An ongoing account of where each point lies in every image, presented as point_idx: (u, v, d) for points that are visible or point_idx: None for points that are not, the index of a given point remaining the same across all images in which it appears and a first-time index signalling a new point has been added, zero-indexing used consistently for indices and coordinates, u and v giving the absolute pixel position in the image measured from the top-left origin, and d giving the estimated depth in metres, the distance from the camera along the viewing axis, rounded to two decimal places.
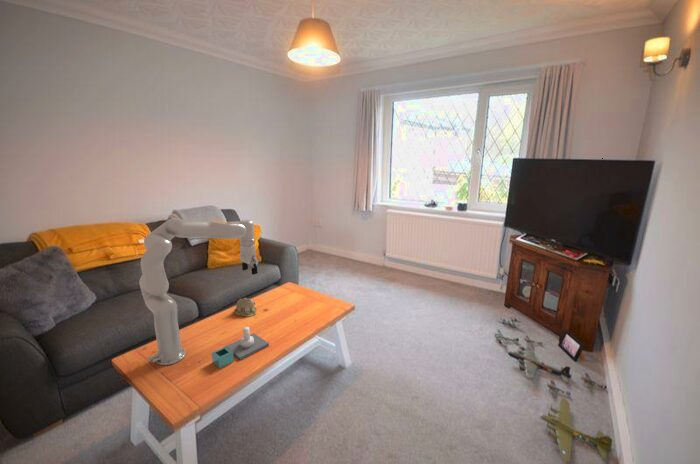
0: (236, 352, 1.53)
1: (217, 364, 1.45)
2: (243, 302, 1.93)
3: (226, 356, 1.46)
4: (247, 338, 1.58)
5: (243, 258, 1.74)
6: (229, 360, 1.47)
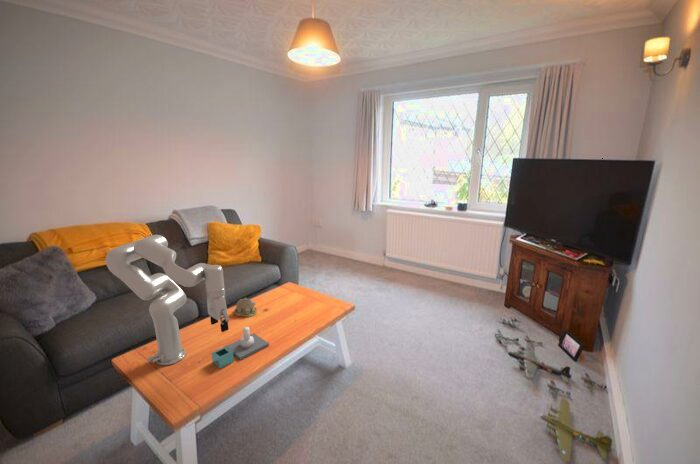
0: (236, 352, 1.53)
1: (217, 364, 1.45)
2: (243, 302, 1.93)
3: (226, 356, 1.46)
4: (247, 338, 1.58)
5: (210, 312, 1.41)
6: (229, 360, 1.47)
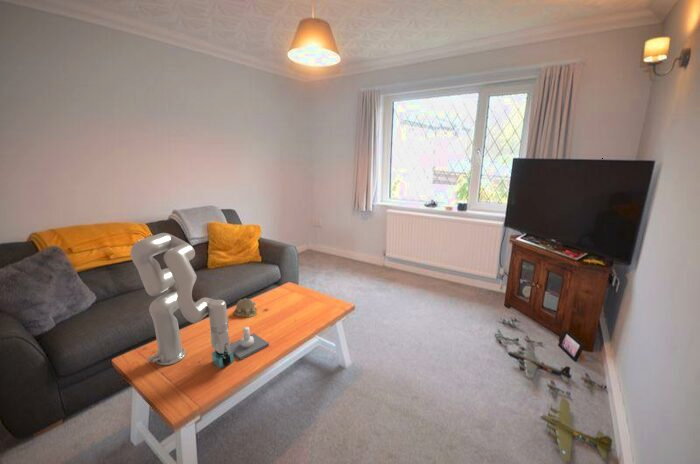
0: (236, 352, 1.53)
1: (217, 364, 1.45)
2: (244, 302, 1.92)
3: None
4: (247, 338, 1.58)
5: (214, 345, 1.45)
6: None
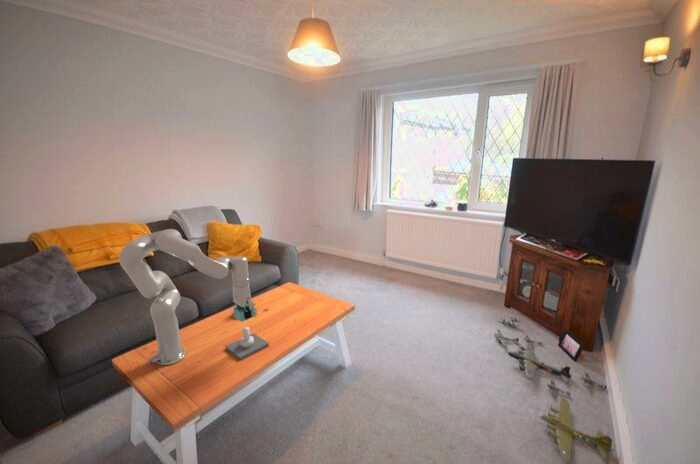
0: (236, 352, 1.53)
1: (239, 318, 1.52)
2: None
3: None
4: (247, 338, 1.58)
5: (236, 300, 1.52)
6: None
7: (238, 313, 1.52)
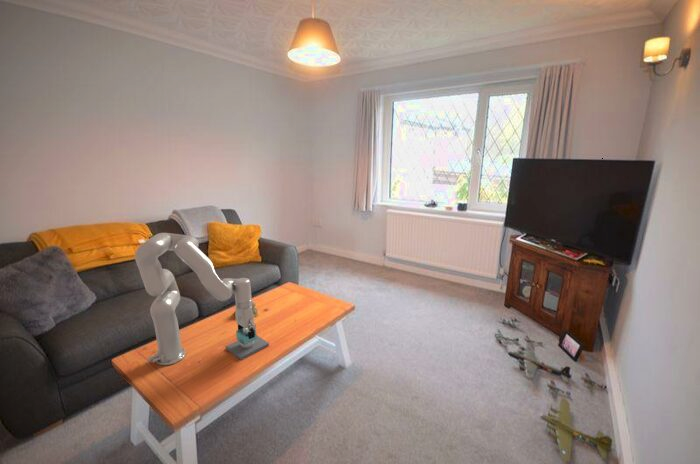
0: (236, 352, 1.53)
1: (242, 341, 1.55)
2: None
3: None
4: None
5: (239, 320, 1.55)
6: None
7: (241, 336, 1.55)
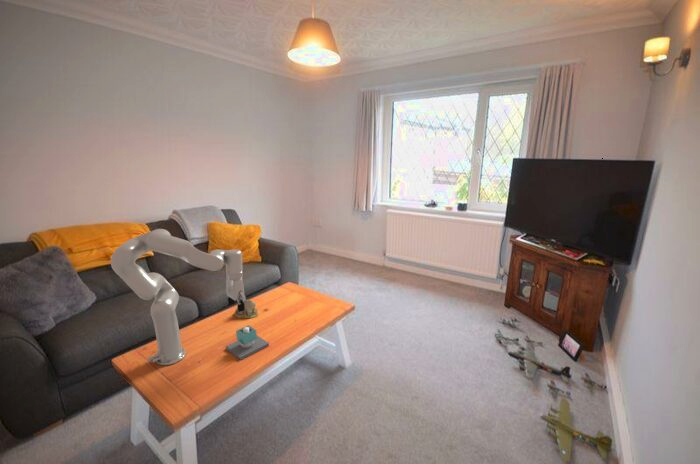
0: (236, 352, 1.53)
1: (242, 341, 1.55)
2: (244, 303, 1.90)
3: (250, 333, 1.56)
4: None
5: (229, 293, 1.53)
6: (252, 337, 1.58)
7: (241, 336, 1.55)
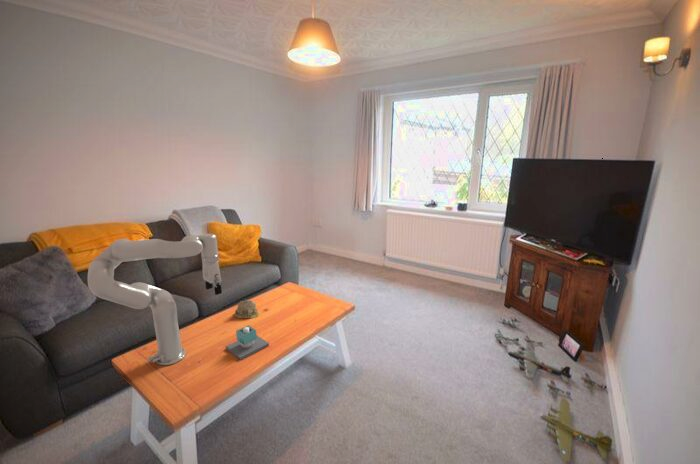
0: (236, 352, 1.53)
1: (242, 341, 1.55)
2: (245, 304, 1.90)
3: (250, 333, 1.56)
4: None
5: (205, 276, 1.55)
6: (252, 337, 1.58)
7: (241, 336, 1.55)
